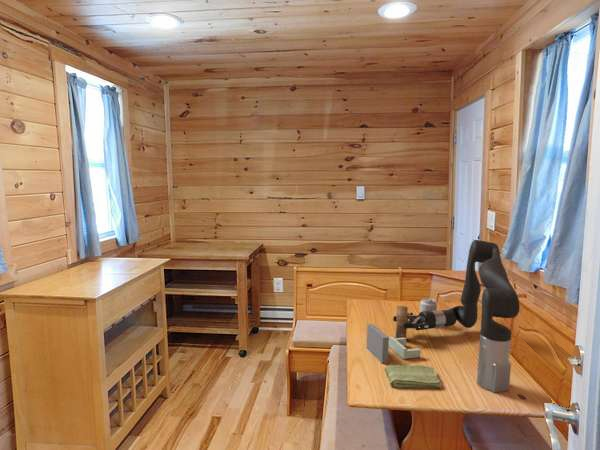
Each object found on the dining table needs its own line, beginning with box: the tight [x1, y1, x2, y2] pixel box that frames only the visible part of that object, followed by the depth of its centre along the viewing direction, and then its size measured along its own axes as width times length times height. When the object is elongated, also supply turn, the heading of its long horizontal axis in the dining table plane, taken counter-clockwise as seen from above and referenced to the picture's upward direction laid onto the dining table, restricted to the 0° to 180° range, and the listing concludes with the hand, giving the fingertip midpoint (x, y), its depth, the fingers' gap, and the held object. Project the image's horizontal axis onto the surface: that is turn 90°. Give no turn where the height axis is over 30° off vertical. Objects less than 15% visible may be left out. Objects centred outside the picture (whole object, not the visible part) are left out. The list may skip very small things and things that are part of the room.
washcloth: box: [384, 364, 443, 389], centre depth 143 cm, size 13×18×3 cm
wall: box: [366, 323, 390, 364], centre depth 160 cm, size 14×2×10 cm, turn 15°
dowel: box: [395, 305, 409, 339], centre depth 176 cm, size 4×4×14 cm
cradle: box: [388, 335, 422, 360], centre depth 164 cm, size 12×7×4 cm, turn 15°
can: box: [419, 297, 438, 313], centre depth 194 cm, size 8×8×12 cm
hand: (398, 322), depth 175 cm, fingers open, 8 cm apart
